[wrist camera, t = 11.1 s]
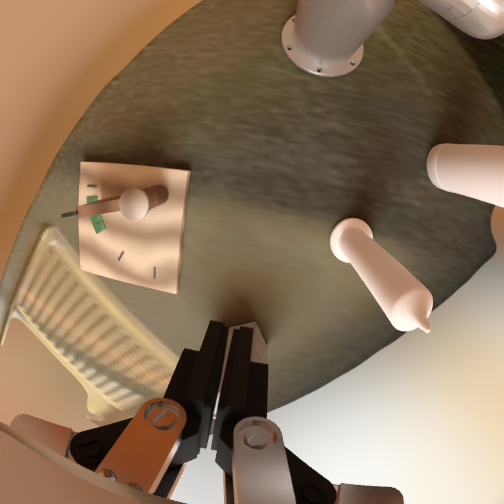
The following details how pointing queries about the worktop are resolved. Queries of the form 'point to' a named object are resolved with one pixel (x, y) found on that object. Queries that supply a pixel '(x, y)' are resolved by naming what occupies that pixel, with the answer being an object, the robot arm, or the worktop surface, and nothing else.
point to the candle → (383, 276)
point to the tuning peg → (125, 203)
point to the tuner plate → (133, 226)
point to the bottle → (469, 170)
